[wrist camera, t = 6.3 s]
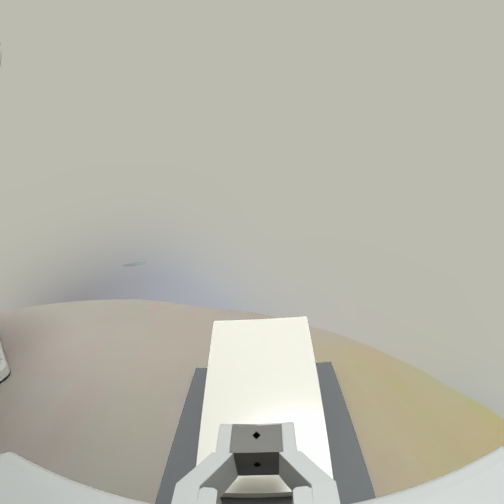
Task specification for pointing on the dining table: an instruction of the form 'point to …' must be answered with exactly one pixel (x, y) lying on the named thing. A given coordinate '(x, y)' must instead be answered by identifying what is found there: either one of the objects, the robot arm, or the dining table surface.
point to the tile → (264, 392)
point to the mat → (338, 432)
